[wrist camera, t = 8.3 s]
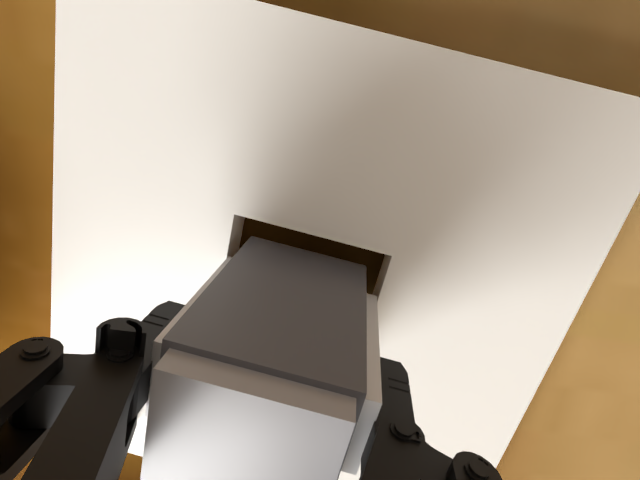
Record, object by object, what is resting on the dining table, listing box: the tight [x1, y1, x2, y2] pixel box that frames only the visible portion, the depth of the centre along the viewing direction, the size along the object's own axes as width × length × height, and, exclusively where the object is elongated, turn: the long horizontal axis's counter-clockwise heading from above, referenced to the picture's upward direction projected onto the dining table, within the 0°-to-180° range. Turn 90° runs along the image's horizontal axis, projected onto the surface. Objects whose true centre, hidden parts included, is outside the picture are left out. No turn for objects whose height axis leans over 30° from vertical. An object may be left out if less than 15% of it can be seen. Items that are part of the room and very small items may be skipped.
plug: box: [140, 236, 367, 480], centre depth 14 cm, size 5×5×9 cm
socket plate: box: [51, 0, 640, 480], centre depth 18 cm, size 22×22×3 cm
